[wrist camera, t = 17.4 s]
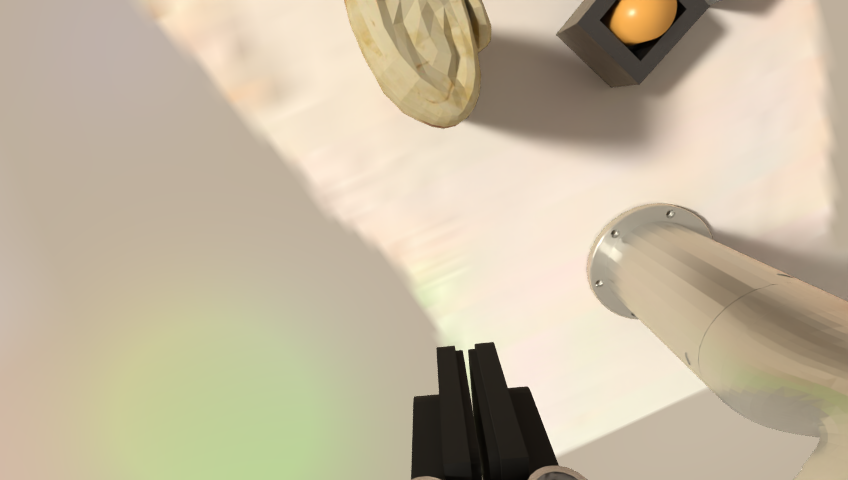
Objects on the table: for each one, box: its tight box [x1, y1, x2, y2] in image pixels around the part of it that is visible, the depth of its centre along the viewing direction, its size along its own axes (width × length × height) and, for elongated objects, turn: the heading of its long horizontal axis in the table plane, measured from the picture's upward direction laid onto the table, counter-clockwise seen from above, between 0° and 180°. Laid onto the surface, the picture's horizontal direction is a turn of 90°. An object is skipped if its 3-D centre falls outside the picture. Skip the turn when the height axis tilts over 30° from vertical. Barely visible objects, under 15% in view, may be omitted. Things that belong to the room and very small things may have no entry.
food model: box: [344, 0, 491, 129], centre depth 26 cm, size 10×7×20 cm
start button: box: [600, 0, 677, 47], centre depth 31 cm, size 4×4×4 cm
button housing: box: [556, 0, 709, 88], centre depth 32 cm, size 7×7×5 cm
